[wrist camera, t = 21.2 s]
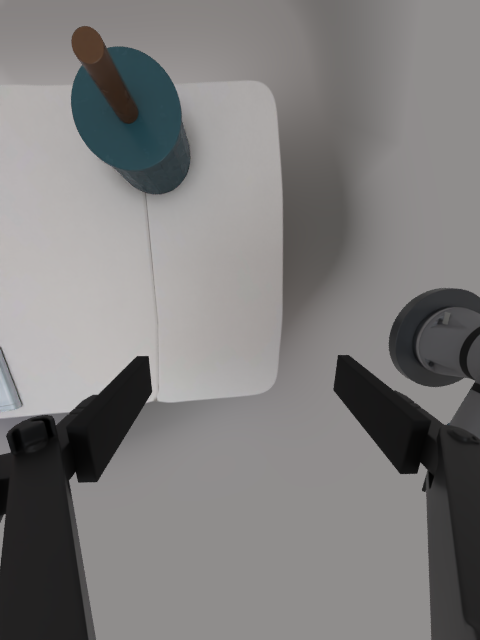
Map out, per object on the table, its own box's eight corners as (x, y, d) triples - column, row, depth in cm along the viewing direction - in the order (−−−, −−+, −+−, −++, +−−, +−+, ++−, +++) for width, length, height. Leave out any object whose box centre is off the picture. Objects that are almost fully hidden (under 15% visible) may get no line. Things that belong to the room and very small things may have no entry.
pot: (189, 114, 37) (176, 59, 27) (190, 195, 39) (179, 170, 30) (112, 109, 36) (72, 50, 27) (118, 192, 38) (83, 165, 29)
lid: (181, 59, 28) (160, -43, 19) (184, 176, 30) (166, 134, 21) (70, 50, 27) (-6, -62, 18) (83, 171, 30) (20, 125, 21)
